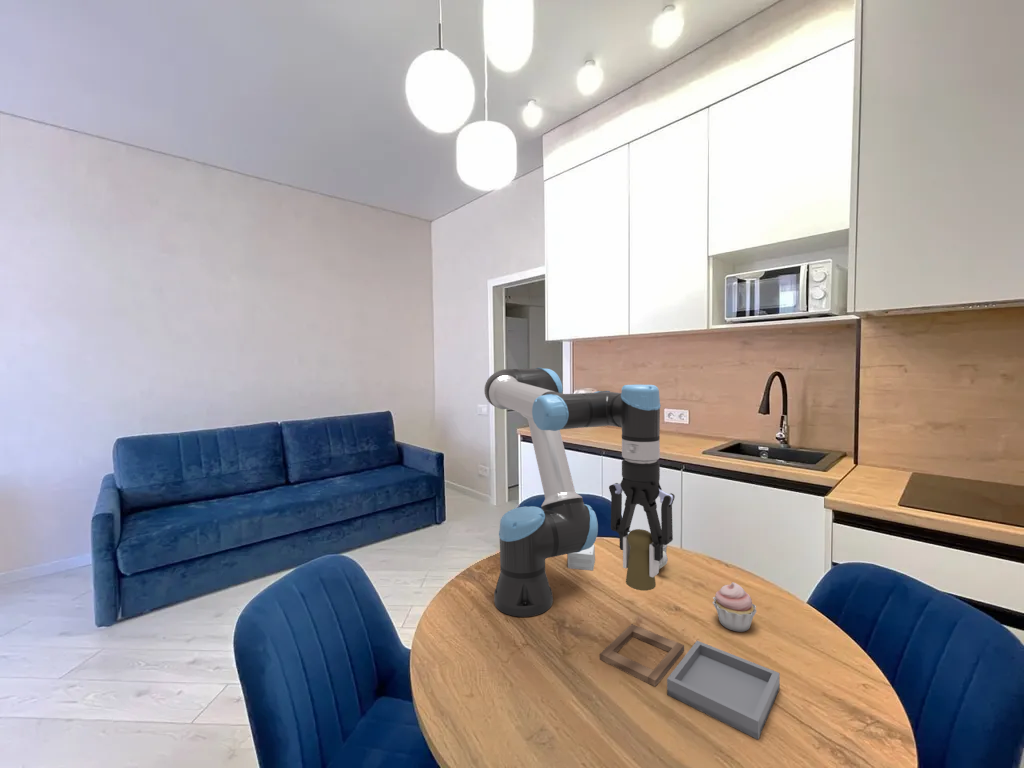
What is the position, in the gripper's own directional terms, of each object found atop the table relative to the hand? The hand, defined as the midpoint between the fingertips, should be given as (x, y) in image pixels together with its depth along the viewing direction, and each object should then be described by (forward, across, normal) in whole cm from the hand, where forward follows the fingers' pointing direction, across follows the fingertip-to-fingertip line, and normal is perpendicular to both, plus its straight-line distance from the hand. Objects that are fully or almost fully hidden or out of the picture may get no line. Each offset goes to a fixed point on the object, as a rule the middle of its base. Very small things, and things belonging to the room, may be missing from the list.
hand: (640, 569), depth 92 cm
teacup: (+19, -16, +38) cm, 45 cm away
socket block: (+18, 0, 0) cm, 18 cm away
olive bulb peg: (+3, 0, 0) cm, 3 cm away
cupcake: (+18, +12, +24) cm, 32 cm away
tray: (+18, +16, 0) cm, 24 cm away
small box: (+19, -33, +28) cm, 47 cm away
